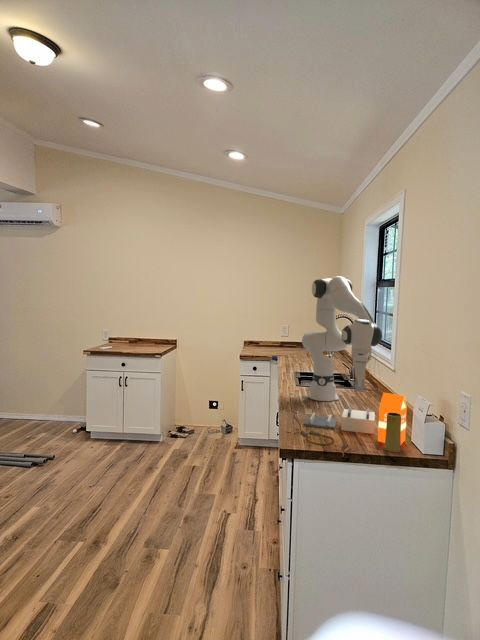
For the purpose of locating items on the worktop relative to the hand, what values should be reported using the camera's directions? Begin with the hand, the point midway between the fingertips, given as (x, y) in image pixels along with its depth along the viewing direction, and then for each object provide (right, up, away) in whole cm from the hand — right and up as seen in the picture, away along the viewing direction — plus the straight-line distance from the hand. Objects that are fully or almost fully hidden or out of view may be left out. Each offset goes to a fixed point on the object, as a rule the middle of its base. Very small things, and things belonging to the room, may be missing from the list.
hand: (359, 385), depth 191 cm
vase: (+5, -22, -26) cm, 34 cm away
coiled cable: (-22, -21, -15) cm, 34 cm away
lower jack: (-17, -19, +6) cm, 26 cm away
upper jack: (0, -20, +1) cm, 20 cm away
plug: (0, -3, 0) cm, 3 cm away
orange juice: (+8, -21, -17) cm, 28 cm away
